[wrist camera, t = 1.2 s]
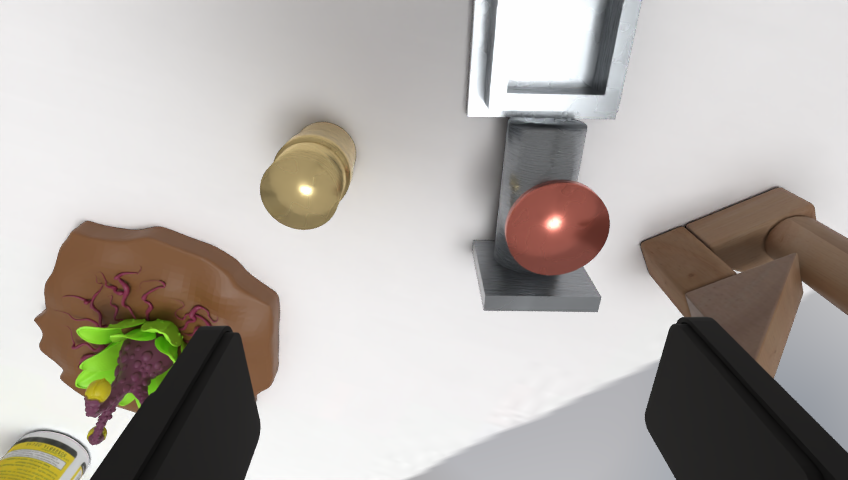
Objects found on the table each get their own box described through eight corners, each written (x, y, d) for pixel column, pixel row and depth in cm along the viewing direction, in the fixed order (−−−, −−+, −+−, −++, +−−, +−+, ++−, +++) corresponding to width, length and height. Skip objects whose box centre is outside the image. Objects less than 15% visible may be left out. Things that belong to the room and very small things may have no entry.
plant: (308, 269, 38) (269, 364, 28) (262, 421, 47) (219, 535, 37) (51, 189, 35) (-97, 267, 25) (52, 370, 43) (-58, 481, 33)
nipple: (288, 118, 32) (250, 153, 25) (357, 119, 32) (338, 154, 25) (295, 183, 34) (263, 232, 27) (360, 184, 34) (344, 233, 27)
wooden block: (637, 241, 37) (803, 430, 21) (779, 183, 34) (1087, 346, 18) (649, 276, 38) (811, 475, 22) (785, 223, 36) (1073, 403, 20)
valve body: (477, -59, 27) (497, -79, 20) (645, -55, 27) (727, -73, 20) (457, 253, 37) (466, 315, 30) (580, 254, 37) (619, 317, 30)
